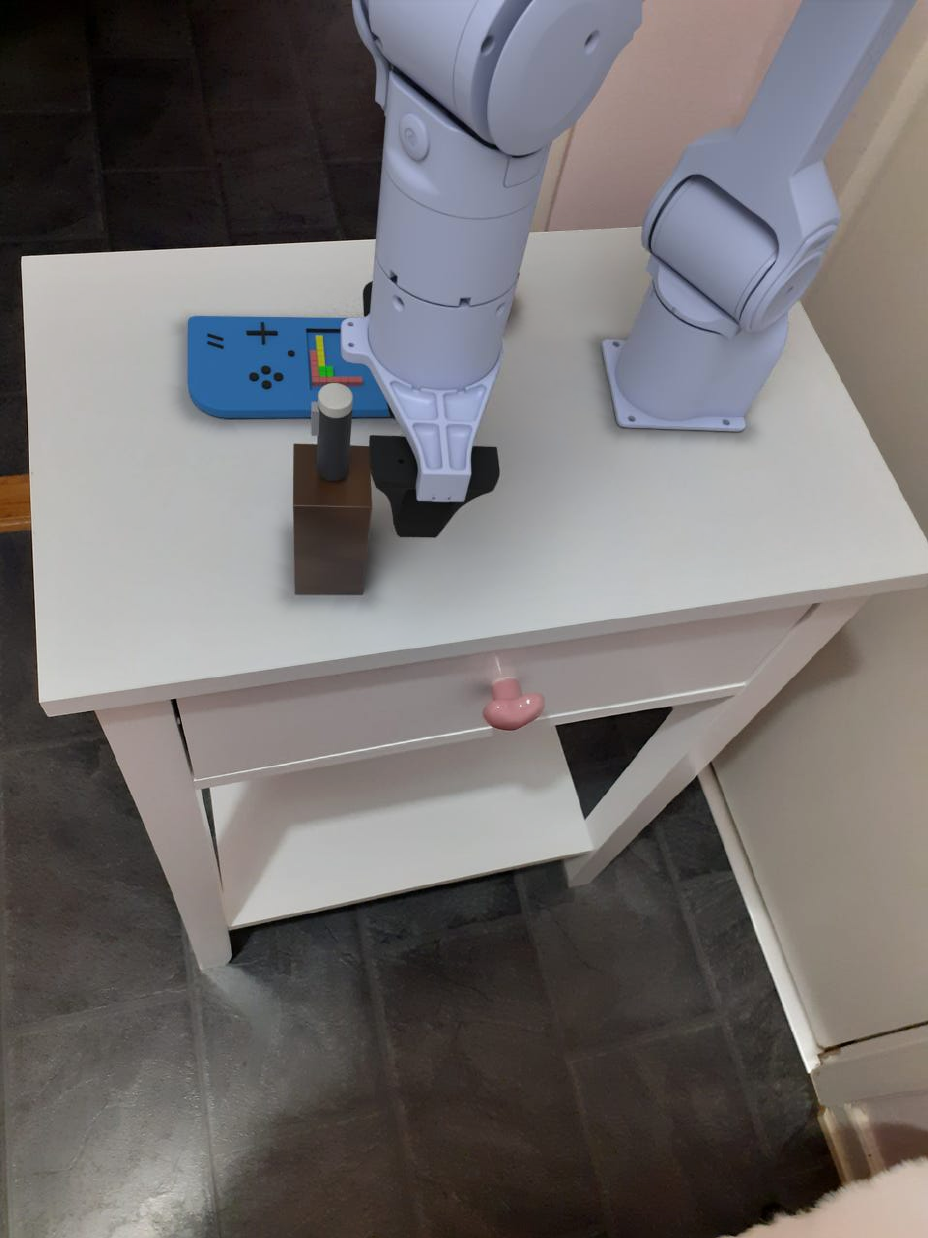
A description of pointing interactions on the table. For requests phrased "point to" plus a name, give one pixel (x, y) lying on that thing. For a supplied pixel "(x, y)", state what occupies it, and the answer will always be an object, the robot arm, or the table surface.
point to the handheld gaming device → (273, 367)
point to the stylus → (332, 430)
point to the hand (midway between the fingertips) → (412, 469)
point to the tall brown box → (330, 524)
